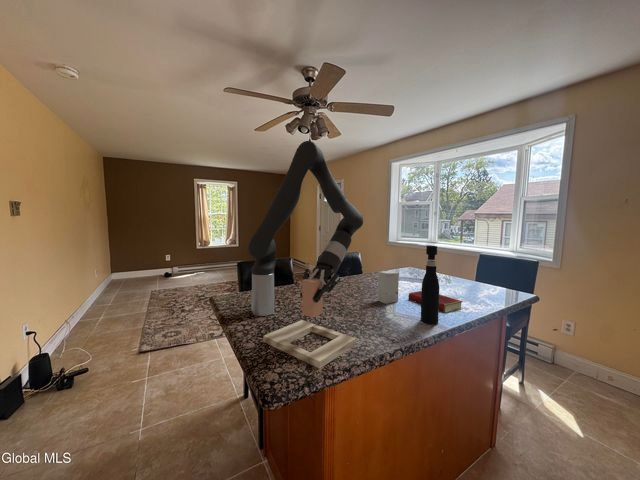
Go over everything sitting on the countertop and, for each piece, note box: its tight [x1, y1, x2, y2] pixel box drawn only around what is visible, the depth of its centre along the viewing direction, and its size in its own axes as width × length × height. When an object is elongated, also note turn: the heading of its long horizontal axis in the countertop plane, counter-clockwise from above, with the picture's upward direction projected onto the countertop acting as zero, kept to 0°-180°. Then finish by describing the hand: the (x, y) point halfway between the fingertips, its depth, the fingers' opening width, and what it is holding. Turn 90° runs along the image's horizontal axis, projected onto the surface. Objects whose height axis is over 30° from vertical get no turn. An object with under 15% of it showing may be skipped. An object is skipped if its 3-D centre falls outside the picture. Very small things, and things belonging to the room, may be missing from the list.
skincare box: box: [377, 270, 400, 305], centre depth 127 cm, size 8×6×15 cm
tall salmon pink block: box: [301, 278, 324, 318], centre depth 82 cm, size 5×5×11 cm
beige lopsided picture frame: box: [263, 319, 357, 370], centre depth 83 cm, size 24×18×2 cm
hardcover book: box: [408, 290, 464, 313], centre depth 124 cm, size 12×21×4 cm, turn 26°
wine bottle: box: [420, 245, 440, 326], centre depth 101 cm, size 6×6×30 cm
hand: (308, 299), depth 81 cm, fingers closed on tall salmon pink block, 4 cm apart
